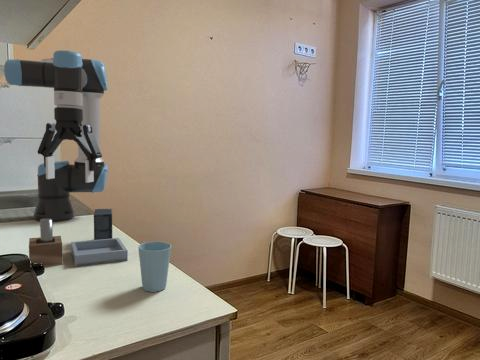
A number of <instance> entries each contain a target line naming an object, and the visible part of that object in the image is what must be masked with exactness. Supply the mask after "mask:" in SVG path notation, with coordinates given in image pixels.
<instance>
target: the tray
mask: <svg viewBox="0 0 480 360" xmlns="http://www.w3.org/2000/svg"><path fill="white" fill-rule="evenodd" d="M70 245H71V246H70V249H71V250H70V251H71V255H72V259H73V263H74V267H81V266H90V265H101V264H107V263H116V262H117V263H118V262H124V261H126V262H127V261H128V258H129V257H128V256H129V255H128V252H129V251H128V249H127V247H126V245H124V243H123V242H122V241H121V238H120V237H114V238H113V237H112V239H100V240H94V239H91V240H90V239H89V240H80V241H79V240H78V241H71V242H70Z"/></svg>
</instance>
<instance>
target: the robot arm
mask: <svg viewBox="0 0 480 360" xmlns="http://www.w3.org/2000/svg"><path fill="white" fill-rule="evenodd" d="M3 71H4V72H3V73H4V78H5V81H6V83H7V84H8V85H11V86H16V87H17V86H18V87H33V88H35V87H36V88H37V87H39V88H49V89H50V88H51V89H53V104H54V106H55V107H54V109H53V110H54V111H53V112H54V113H53V115H54V117H53V119H54V120H55V123H52V122H51V123H49V122H47V123H46V124H45V132H44V134H43V136H42V139H41V141H40V144H39V147H38V149H37V154H38V155H41V156H42V157H43V163H41V164H39V165H38V167H37V175H36V177H37V196H38V199H37V203H36V205H35V208H34V212H33V219H34V220H35V221H39V222H40V220H41V219H45V218H51V219H52V222H59V221H66V220H67V221H68V220H71V219H73V218H74V217H75V210H74V207H73V205H72V201H71V200H70V199H71V198H70V193H92V194H93V193H94V194H95V193H102V192H104V191H105V188H106V184H107V177H108V169H109V165H107V164H105V159H103V158H102V157H103V153H102V152H101V98H102V97H104V95H105V91H108V79H107V73H106V67H105V64H104V62H103V61H101V60H97V59H90V58H89V59H87V58H83V56H82V54H81V53H79V52H76V51H71V50H64V49H63V50H56V51H54V52H53V56H52V57H51V58H43V59H41V60H27V59H26V60H25V59H18V58H17V59H11V58H10V59H6V60H5V63H4V67H3ZM66 140H70V141H74V142H75V143H76V144H77V148H78V149H77V152H78V154H77V157H76V158H75V159H74V164H71V163H70V161H68V160H59V161H55V156H54V153H55V152H56V150H57V149H58V148H59V146H60V144H62V142H63V141H66Z"/></svg>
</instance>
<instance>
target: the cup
mask: <svg viewBox="0 0 480 360" xmlns="http://www.w3.org/2000/svg"><path fill="white" fill-rule="evenodd" d="M137 248H138V249H137V250H138V256H139V267H140V276H141V285H142V290H143V289H144V290H143V291H145V290H146V291H145V292H147V291H150V292H149V293H157V291H159V292H162V291H164V290H166V287H167V284H168V283H167V282H168V273H169V267H170V259H171V252H172V244H170V243H168V242H165V241H148V242H143V243H141V244H139V245H138V247H137ZM163 289H164V290H163ZM161 290H162V291H161Z"/></svg>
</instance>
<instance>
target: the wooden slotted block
mask: <svg viewBox="0 0 480 360" xmlns="http://www.w3.org/2000/svg"><path fill="white" fill-rule="evenodd" d="M28 239H29V240H28V241H29V242H28V257H29V258H28V261H29V260H30V261H31V263H42V264H43V265H44V266H43V267H52V266H58V265H63V241H62V236H61V235H53V242H50V243H41V236H40V237H30V238H28Z"/></svg>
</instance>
